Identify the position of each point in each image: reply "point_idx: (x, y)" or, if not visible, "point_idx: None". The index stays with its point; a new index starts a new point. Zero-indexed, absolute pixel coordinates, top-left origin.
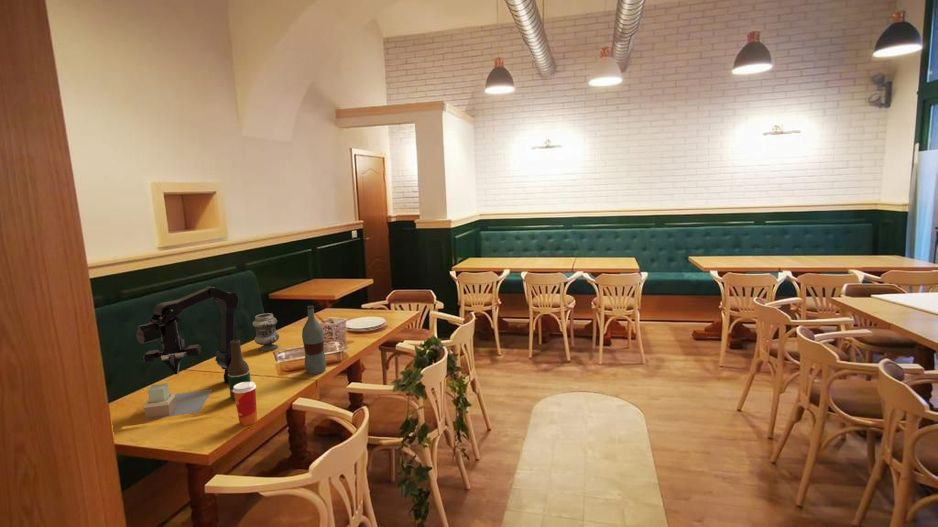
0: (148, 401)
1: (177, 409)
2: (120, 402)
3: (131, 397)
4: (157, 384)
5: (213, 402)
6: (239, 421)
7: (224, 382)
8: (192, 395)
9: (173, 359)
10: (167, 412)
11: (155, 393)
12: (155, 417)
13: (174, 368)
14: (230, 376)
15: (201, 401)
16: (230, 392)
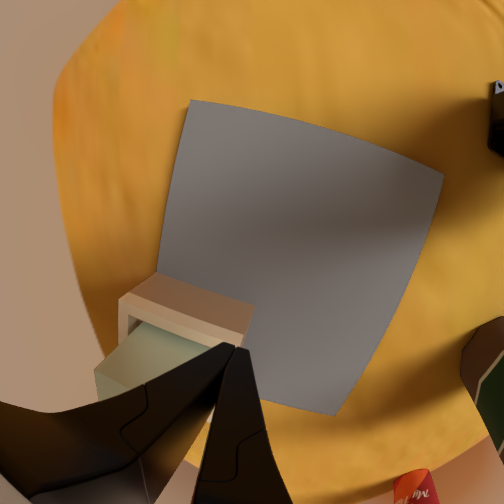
0: None
1: (260, 350)
2: (59, 84)
3: (86, 45)
4: (120, 383)
5: (411, 328)
6: (394, 489)
7: (493, 121)
8: (341, 199)
9: (122, 483)
10: None
11: None
12: None
13: (197, 429)
14: (500, 449)
15: (370, 323)
16: (474, 377)
